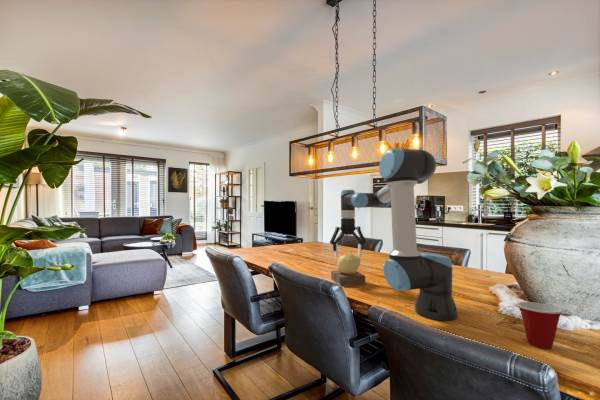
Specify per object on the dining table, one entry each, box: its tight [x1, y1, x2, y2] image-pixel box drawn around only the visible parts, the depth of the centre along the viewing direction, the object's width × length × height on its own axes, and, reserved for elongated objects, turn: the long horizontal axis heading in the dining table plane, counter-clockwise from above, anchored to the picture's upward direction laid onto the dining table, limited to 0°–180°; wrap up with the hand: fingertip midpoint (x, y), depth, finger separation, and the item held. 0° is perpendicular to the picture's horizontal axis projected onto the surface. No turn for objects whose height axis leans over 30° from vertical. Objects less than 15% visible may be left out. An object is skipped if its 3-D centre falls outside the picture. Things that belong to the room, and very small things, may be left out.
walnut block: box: [330, 270, 366, 287], centre depth 155 cm, size 14×14×5 cm
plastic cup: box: [516, 301, 563, 350], centre depth 87 cm, size 11×11×12 cm
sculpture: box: [336, 253, 362, 275], centre depth 156 cm, size 12×12×11 cm
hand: (348, 256), depth 155 cm, fingers open, 13 cm apart
